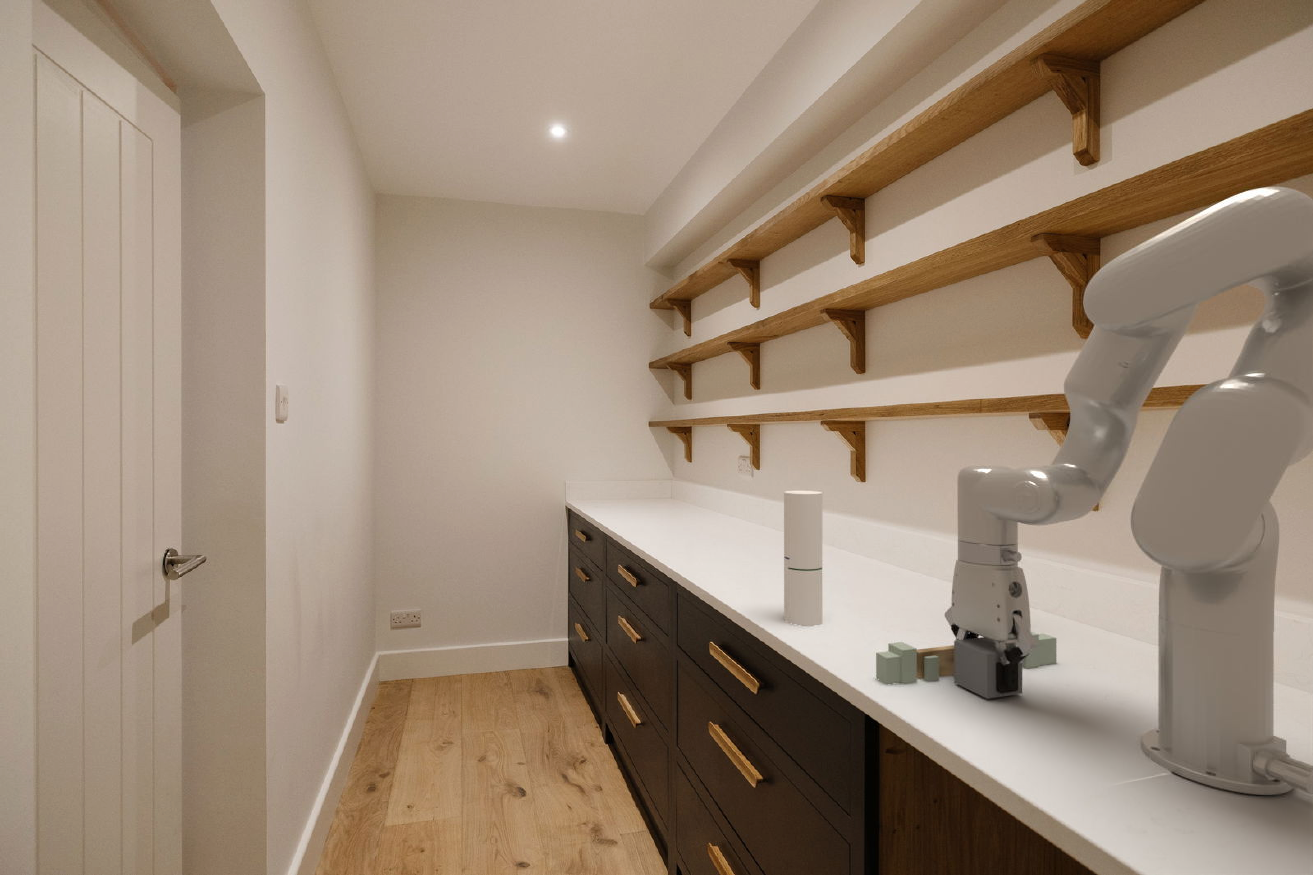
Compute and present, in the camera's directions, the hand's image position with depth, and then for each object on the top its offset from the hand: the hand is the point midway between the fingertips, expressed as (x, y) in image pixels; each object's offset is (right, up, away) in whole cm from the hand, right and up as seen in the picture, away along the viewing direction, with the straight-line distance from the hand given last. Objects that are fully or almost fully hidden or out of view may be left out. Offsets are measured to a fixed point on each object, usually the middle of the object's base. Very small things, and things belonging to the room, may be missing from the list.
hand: (987, 681), depth 90 cm
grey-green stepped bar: (+1, -1, +7) cm, 7 cm away
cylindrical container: (-18, -1, +33) cm, 38 cm away
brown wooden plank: (0, -1, +8) cm, 8 cm away
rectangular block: (0, -1, 0) cm, 1 cm away
